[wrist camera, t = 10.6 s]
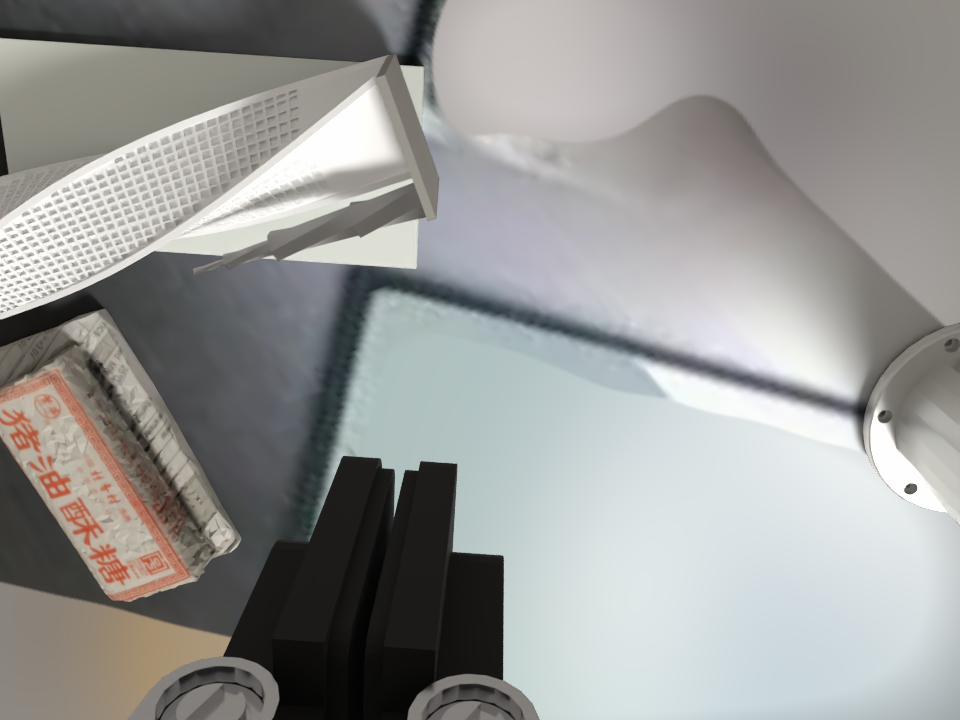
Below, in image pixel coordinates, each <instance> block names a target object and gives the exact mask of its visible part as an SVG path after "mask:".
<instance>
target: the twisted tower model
mask: <svg viewBox="0 0 960 720" xmlns="http://www.w3.org/2000/svg"><path fill="white" fill-rule="evenodd" d="M411 178H412V179H413V183H411V184H408V185H406V186H403V187H400V188H398V189H395V190H393V191H390V192H388V193H385V194H383V195H380V196H378V197H375V198H372V199H370V200H365V201H357V202H351V203H350V205H349V206H348V207H345V208H342V209H339V210H337V211H334V212H331V213H329V214H326V215H323V216H321V217H318V218H315V219H313V220H310V221H307V222H305V223H302V224H299V225H297V226H294V227H291V228H285V229H280V230H275V231H270V232H269V234H268V235H267V239H268V240H266V241H263V242H261V243H258V244H255V245H252V246H250V247H247V248H244V249H242V250H239V251H235V252H230V253H225V254H223V256H222V259H221V260H219V261H216V262H213V263H210V264H207V265H204V266H201V267H197V268H193V273H194V274H195V275H197V274H200V273H202V272H205V271H209V270H212V269H216V268H219V267H223V266H226V268H227V269H228V270H229V269H231V268H233V267H235V266H237V265H239V264H242V263H246V262H249V261H253V260H257V259H261V258H264V257H268V256H272V255H274V257H275V258H276V259H277V260H278V261H280V260H282V259H284V258H286V257H288V256H290V255H292V254H295V253H297V252H299V251H302V250H305V249H309V248H313V247H317V246H321V245H325V244H328V243H332V242H336V241H340V240H344V239H348V238H352V237H355V236H360V238H362V237H364V236H365V235H367V234H369V233H371V232H373V231H374V230H376V229H379V228H382V227H386V226H390V225H395V224H399V223H403V222H407V221H412V220H416V219H420V218H424V217H426V218H427V221H430V220H433V219H436V215H437V202H438V189H439V177H438V174H437V171H436V168H435V165H434V162H433V159H432V157H431V154H430V151H429V148H428V145H427V142H426V139H425V136H424V134H423V131H422V128H421V125H420V122H419V119H418V116H417V113H416V111H415V108H414V105H413V102H412V99H411V96H410V93H409V90H408V87H407V85H406V82H405V79H404V76H403V73H402V70H401V67H400V64H399V62H398V59H397V56H396V53H394V54H391V55H386V56H383V57H379V58H376V59H372V60H369V61H365V62H362V63H358V64H355V65H352V66H348V67H345V68H341V69H338V70H334V71H331V72H328V73H324V74H321V75H317V76H314V77H311V78H307V79H304V80H301V81H297V82H294V83H291V84H288V85H285V86H281V87H278V88H275V89H272V90H269V91H266V92H262V93H259V94H256V95H253V96H250V97H247V98H245V99H242V100H239V101H236V102H233V103H230V104H227V105H224V106H221V107H218V108H216V109H213V110H210V111H208V112H205V113H202V114H199V115H197V116H194V117H191V118H189V119H186V120H183V121H181V122H178V123H176V124H174V125H171V126H169V127H166V128H164V129H162V130H159V131H157V132H154V133H152V134H149V135H147V136H145V137H143V138H140V139H138V140H136V141H134V142H132V143H130V144H127V145H125V146H123V147H121V148H119V149H116V150H114V151H112V152H110V153H106V154H100V155H94V156H88V157H83V158H78V159H73V160H69V161H64V162H59V163H54V164H50V165H46V166H41V167H37V168H33V169H29V170H24V171H20V172H16V173H13V174H9V175H5V176H1V177H0V319H4V318H7V317H9V316H12V315H15V314H18V313H21V312H24V311H27V310H29V309H32V308H35V307H38V306H41V305H43V304H46V303H49V302H51V301H54V300H56V299H59V298H61V297H64V296H66V295H69V294H71V293H73V292H76V291H78V290H80V289H83V288H85V287H87V286H89V285H92V284H94V283H96V282H98V281H100V280H102V279H104V278H106V277H108V276H110V275H112V274H114V273H116V272H117V271H119V270H121V269H123V268H125V267H127V266H128V265H130V264H132V263H134V262H136V261H137V260H139V259H141V258H142V257H144V256H146V255H148V254H149V253H151V252H153V251H154V250H156V249H157V248H159V247H161V246H162V245H164V244H165V243H167V242H169V241H171V240H173V239H180V238H188V237H194V236H200V235H206V234H213V233H218V232H223V231H228V230H233V229H238V228H243V227H247V226H251V225H255V224H259V223H264V222H268V221H272V220H276V219H280V218H283V217H287V216H291V215H294V214H298V213H301V212H305V211H309V210H312V209H316V208H319V207H322V206H326V205H329V204H332V203H336V202H339V201H342V200H345V199H349V198H352V197H355V196H358V195H361V194H365V193H368V192H371V191H374V190H377V189H380V188H383V187H386V186H389V185H393V184H396V183H399V182H402V181H405V180H408V179H411Z"/></svg>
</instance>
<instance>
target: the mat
mask: <svg viewBox="0 0 960 720" xmlns="http://www.w3.org/2000/svg"><path fill="white" fill-rule="evenodd" d="M358 63H362V62H348V61H333V60H318V59H303V58H288V57H274V56H259V55H244V54H229V53H214V52H200V51H185V50H170V49H155V48H140V47H126V46H111V45H96V44H81V43H66V42H52V41H37V40H22V39H7V38H0V116H1V123H2V130H3V137H4V144H5V151H6V158H7V165H8V172H9V174H13V173H16V172H20V171H24V170H29V169H33V168H37V167H41V166H46V165H50V164H54V163H59V162H64V161H69V160H73V159H78V158H83V157H88V156H94V155H100V154H106V153H110V152H112V151H114V150H116V149H119V148H121V147H123V146H125V145H127V144H130V143H132V142H134V141H136V140H138V139H140V138H143V137H145V136H147V135H149V134H152V133H154V132H157V131H159V130H162V129H164V128H166V127H169V126H171V125H174V124H176V123H178V122H181V121H183V120H186V119H189V118H191V117H194V116H197V115H199V114H202V113H205V112H208V111H210V110H213V109H216V108H218V107H221V106H224V105H227V104H230V103H233V102H236V101H239V100H242V99H245V98H247V97H250V96H253V95H256V94H259V93H262V92H266V91H269V90H272V89H275V88H278V87H281V86H285V85H288V84H291V83H294V82H297V81H301V80H304V79H307V78H311V77H314V76H317V75H321V74H324V73H328V72H331V71H334V70H338V69H341V68H345V67H348V66H352V65H355V64H358ZM400 67H401V70H402V73H403V76H404V79H405V82H406V85H407V87H408V90H409V93H410V96H411V99H412V102H413V105H414V108H415V111H416V113H417V116H418V119H419V122H420V125H421V128H422V115H423V87H424V67H422V66H407V65H400ZM411 183H413V179H412V178H411V179H408V180H405V181H402V182H399V183H396V184H393V185H389V186H386V187H383V188H380V189H377V190H374V191H371V192H368V193H365V194H361V195H358V196H355V197H352V198H349V199H345V200H342V201H339V202H336V203H332V204H329V205H326V206H322V207H319V208H316V209H312V210H309V211H305V212H301V213H298V214H294V215H291V216H287V217H283V218H280V219H276V220H272V221H268V222H264V223H259V224H255V225H251V226H247V227H243V228H238V229H233V230H228V231H223V232H218V233H213V234H206V235H200V236H194V237H188V238H180V239H173V240H171V241H169V242H167V243H165V244H164V245H162V246H161V247H159V248H157V249H156V250H154V251H163V252H178V253H192V254H207V255H222V256H223V254H225V253H230V252H235V251H239V250H242V249H244V248H247V247H250V246H252V245H255V244H258V243H261V242H263V241H266V240H268V239H267V235H268V234H269V232H270V231H275V230H280V229H285V228H291V227H294V226H297V225H299V224H302V223H305V222H307V221H310V220H313V219H315V218H318V217H321V216H323V215H326V214H329V213H331V212H334V211H337V210H339V209H342V208H345V207H348V206H349V205H350V203H351V202H357V201H365V200H370V199H372V198H375V197H378V196H380V195H383V194H385V193H388V192H390V191H393V190H395V189H398V188H400V187H403V186H406V185H408V184H411ZM418 226H419V219H416V220H412V221H407V222H403V223H399V224H395V225H390V226H386V227H382V228H379V229H376V230H374V231H373V232H371V233H369V234H367V235H365V236H364V237H362V238H360V236H355V237H352V238H348V239H344V240H340V241H336V242H332V243H328V244H325V245H321V246H317V247H313V248H309V249H305V250H302V251H299V252H297V253H295V254H292V255H290V256H288V257H286V258H284V259H282V260H295V261H310V262H324V263H339V264H354V265H369V266H383V267H398V268H413V269H416V267H417V253H418ZM264 258H266V259H276V258H275V257H274V255H272V256H268V257H264Z"/></svg>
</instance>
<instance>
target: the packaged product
mask: <svg viewBox="0 0 960 720" xmlns="http://www.w3.org/2000/svg"><path fill="white" fill-rule="evenodd" d="M0 438H1V439H2V441H3V442H4V443H5V445H6V446H7V448H8V449H9V451H10V452H11V454H12V456H13V457H14V459H15V460H16V461H17V463H18V464H19V466H20V467H21V469H22V470H23V471H24V473H25V474H26V476H27V477H28V479H29V480H30V482H31V483H32V485H33V486H34V488H35V489H36V491H37V492H38V493H39V495H40V496H41V498H42V499H43V501H44V502H45V504H46V505H47V507H48V508H49V510H50V511H51V513H52V514H53V516H54V517H55V519H56V520H57V522H58V523H59V525H60V526H61V528H62V529H63V531H64V532H65V533H66V535H67V536H68V538H69V539H70V541H71V542H72V544H73V546H74V547H75V548H76V550H77V552H78V553H79V555H80V556H81V557H82V559H83V560H84V562H85V563H86V565H87V567H88V568H89V570H90V572H91V573H92V575H93V576H94V577H95V578H96V580H97V582H98V583H99V585H100V587H101V588H102V589H103V591H104V593H105V594H106V595H107V596H108V597H109V598H110V599H112V600H119V601H120V600H124V601H128V602H131V601H133V600H135V599H137V598H139V597H148V596H150V595H152V594H154V593H158V592H159V591H165V590H168V589H171V588H176V587H177V586H178V585H182V584H185V583H189V582H195V581H197V580H198V579H199V578H200V575H201V574H202V573H204V572H205V571H204V567H205V566H206V565H207V564H208V563H209V561H210V560H211V559H212V558H215V557H218V556H220V555H223V554H226V553H230V552H231V551H233V550H234V549H235V548H236V547H237V546H238V544H239V543H240V541H241V537H240V535H239V533H238V531H237V530H236V528H235V526H234V525H233V523H232V521H231V520H230V518H229V516H228V515H227V513H226V511H225V510H224V508H223V507H222V505H221V504H220V502H219V500H218V498H217V496H216V494H215V492H214V490H213V488H212V486H211V485H210V483H209V481H208V479H207V477H206V475H205V473H204V471H203V469H202V467H201V466H200V464H199V462H198V461H197V459H196V457H195V456H194V454H193V452H192V450H191V449H190V447H189V445H188V443H187V442H186V440H185V438H184V436H183V434H182V433H181V431H180V429H179V427H178V425H177V424H176V422H175V420H174V418H173V417H172V415H171V413H170V411H169V410H168V408H167V406H166V405H165V403H164V401H163V400H162V398H161V396H160V395H159V393H158V391H157V390H156V388H155V386H154V384H153V383H152V381H151V379H150V378H149V376H148V375H147V373H146V371H145V370H144V368H143V367H142V365H141V364H140V362H139V360H138V359H137V357H136V356H135V354H134V352H133V351H132V349H131V348H130V346H129V344H128V343H127V341H126V340H125V338H124V336H123V335H122V333H121V332H120V330H119V328H118V327H117V325H116V324H115V322H114V321H113V319H112V317H111V316H110V315H109V313H108V312H107V311H106V309H101V310H97V311H94V312H90V313H86V314H83V315H79V316H77V317H75V318H73V319H71V320H69V321H67V322H65V323H63V324H61V325H59V326H57V327H55V328H52V329H49V330H46V331H43V332H40V333H37V334H34V335H31V336H29V337H26V338H23V339H21V340H18V341H16V342H13V343H10V344H8V345H5V346H3V347H0Z"/></svg>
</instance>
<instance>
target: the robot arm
mask: <svg viewBox="0 0 960 720" xmlns="http://www.w3.org/2000/svg"><path fill="white" fill-rule="evenodd" d="M946 341H947V343H946ZM881 411H882V412H881ZM863 436H864V444H865V450H866V452H867V455H868V458H869V460H870V463H871V465H872V466H873V468H874V469H875V471H876V472H877V474H878V475H879V477H880V478H881V479H882V480H883V481H884V482H885V483H886V484H887V486H888V487H889V488H890V489H891V490H892V491H893V492H895V493H896V494H897V495H898V496H900V497H901V498H903V499H904V500H906V501H909V502H911V503H913V504H915V505H917V506H920V507H922V508H926V509H931V510H935V511H940V512H947V513H948V514H949V515H950V516H951V517H952V518H953V519H954V520H955V522H956V523H957V524H958V525H959V526H960V323H957V324H954V325H950V326H947V327H944V328H942V329H940V330H938V331H935V332H933V333H931V334H929V335H927V336H925V337H924V338H922V339H921V340H919V341H917V342H916V343H914V344H913V345H911V346H910V347H908V348H907V349H906V350H905V351H904V352H903V353H902V354H901V355H900V356H898V357H897V358H896V359H895V360H894V361H893V362H892V363H891V364H890V366H889V367H888V368H887V369H886V371H885V372H884V373H883V375H882V376H881V377H880V378H879V380H878V382H877V384H876V386H875V388H874V390H873V392H872V393H871V395H870V398H869V401H868V404H867V408H866V411H865V415H864V425H863ZM456 481H457V464H452V463H436V462H423V461H421V462H420V466H419V471H412V470H411V471H410V470H405V473H404V478H403V482H402V486H401V490H400V495H399V499H398V503H397V508H396V512H395V516H394V486H395V485H394V484H395V471H394V469H384V468H382V463H381V459H379V458H365V457H351V456H343V457H342V459H341V462H340V464H339V467H338V469H337V472H336V475H335V477H334V480H333V482H332V485H331V487H330V490H329V493H328V495H327V498H326V500H325V503H324V506H323V508H322V511H321V513H320V516H319V519H318V521H317V524H316V526H315V529H314V531H313V534H312V537H311V539H310V542H301V541H287V540H279V541H277V542H276V543H275V544H274V546H273V548H272V550H271V552H270V554H269V556H268V559H267V561H266V563H265V565H264V567H263V570H262V572H261V574H260V576H259V579H258V581H257V583H256V585H255V587H254V590H253V592H252V594H251V596H250V598H249V601H248V603H247V605H246V607H245V609H244V612H243V614H242V616H241V618H240V620H239V623H238V625H237V627H236V629H235V631H234V634H233V636H232V638H231V640H230V642H229V645H228V647H227V649H226V651H225V653H224V656H223V657H215V658H208V659H201V660H198V661H195V662H192V663H190V664H187V665H184V666H181V667H179V668H178V669H176V670H174V671H173V672H171V673H169V674H168V675H166V676H164V677H163V678H162V679H161V680H160V681H159V682H158V683H157V684H156V685H155V686H154V687H153V688H152V689H151V690H150V691H149V692H148V693H147V695H146V696H145V697H144V699H143V700H142V701H141V703H140V704H139V705H138V707H137V708H136V709H135V710H134V712H133V713H132V715H131V716H130V717H129V718H128V720H539V717H538V715H537V713H536V710H535V708H534V706H533V704H532V703H531V702H530V701H529V699H528V698H527V697H526V696H525V695H524V694H523V693H522V692H521V691H520V690H518V689H517V688H515V687H513V686H512V685H510V684H508V683H507V682H505V681H503V597H504V596H503V595H504V592H503V591H504V588H503V587H504V558H503V556H500V555H486V554H471V553H457V552H452V549H453V532H454V514H455V498H456Z"/></svg>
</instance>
